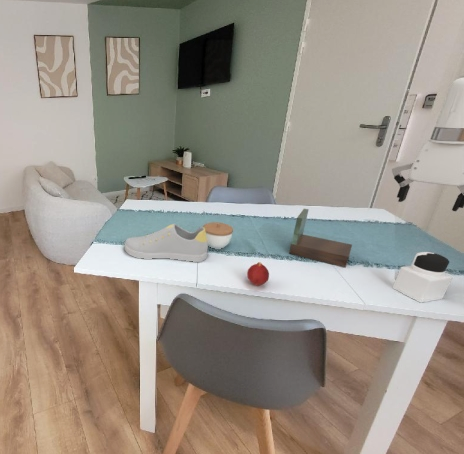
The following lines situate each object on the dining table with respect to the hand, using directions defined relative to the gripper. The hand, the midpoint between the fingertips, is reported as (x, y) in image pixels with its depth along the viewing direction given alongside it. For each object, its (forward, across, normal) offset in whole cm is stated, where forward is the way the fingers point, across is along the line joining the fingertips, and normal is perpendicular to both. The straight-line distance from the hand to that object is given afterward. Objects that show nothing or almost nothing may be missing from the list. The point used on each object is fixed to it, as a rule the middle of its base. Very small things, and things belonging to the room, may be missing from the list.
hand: (426, 205), depth 74 cm
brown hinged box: (+25, +21, -5) cm, 33 cm away
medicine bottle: (+25, -5, 0) cm, 25 cm away
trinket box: (+25, +48, +17) cm, 57 cm away
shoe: (+25, +55, +37) cm, 71 cm away
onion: (+25, +24, +30) cm, 46 cm away
